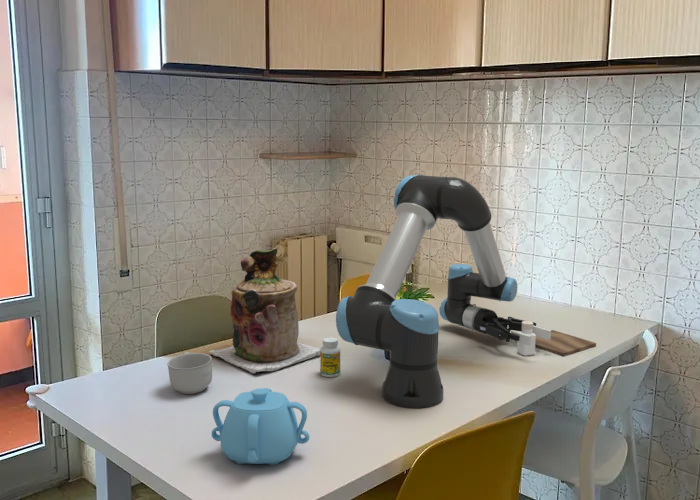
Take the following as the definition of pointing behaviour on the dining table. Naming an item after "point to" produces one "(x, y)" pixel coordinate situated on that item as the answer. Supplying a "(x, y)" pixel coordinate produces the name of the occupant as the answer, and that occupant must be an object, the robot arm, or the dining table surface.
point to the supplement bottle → (330, 358)
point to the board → (563, 344)
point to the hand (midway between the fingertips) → (539, 338)
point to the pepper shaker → (527, 330)
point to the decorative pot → (259, 427)
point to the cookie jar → (264, 319)
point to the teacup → (190, 372)
